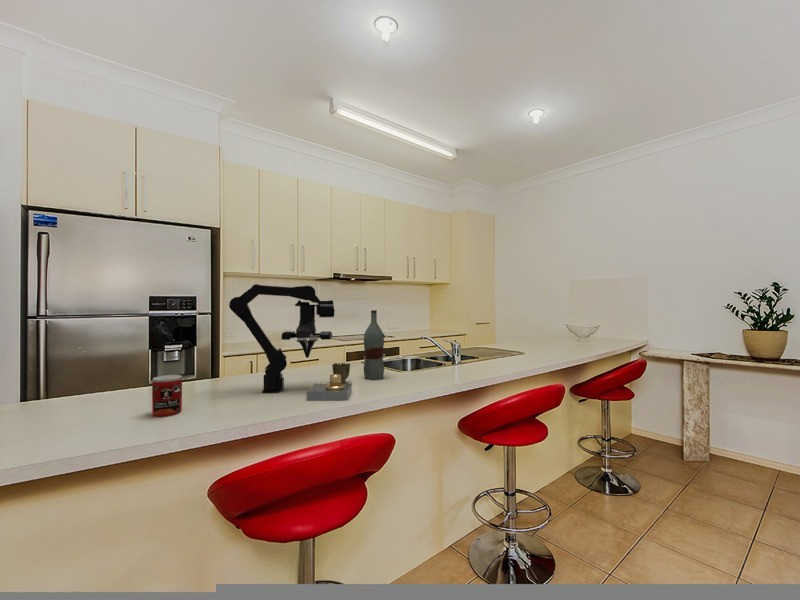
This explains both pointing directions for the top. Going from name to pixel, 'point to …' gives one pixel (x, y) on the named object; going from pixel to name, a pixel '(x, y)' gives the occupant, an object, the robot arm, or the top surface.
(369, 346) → the bottle
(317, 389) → the block
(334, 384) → the brass bushing
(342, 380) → the cup
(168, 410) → the canned food
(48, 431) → the top surface
